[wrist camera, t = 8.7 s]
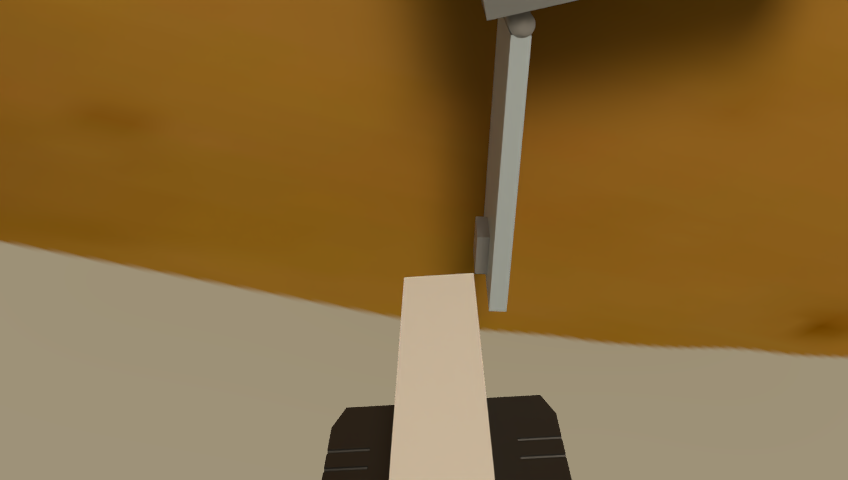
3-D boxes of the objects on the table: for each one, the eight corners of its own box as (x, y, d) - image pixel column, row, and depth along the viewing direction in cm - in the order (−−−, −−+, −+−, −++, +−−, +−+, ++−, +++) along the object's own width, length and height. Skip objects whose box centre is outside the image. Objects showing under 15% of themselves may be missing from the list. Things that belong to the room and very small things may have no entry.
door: (487, -14, 34) (497, 10, 27) (519, -13, 34) (536, 11, 27) (471, 238, 40) (476, 310, 33) (498, 239, 40) (508, 311, 33)
